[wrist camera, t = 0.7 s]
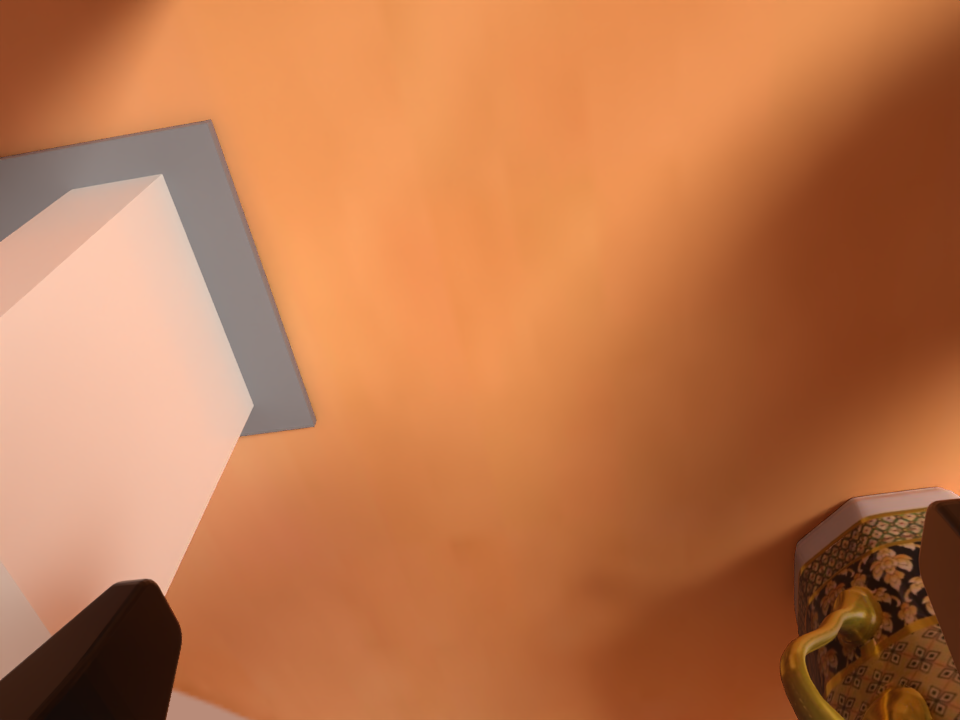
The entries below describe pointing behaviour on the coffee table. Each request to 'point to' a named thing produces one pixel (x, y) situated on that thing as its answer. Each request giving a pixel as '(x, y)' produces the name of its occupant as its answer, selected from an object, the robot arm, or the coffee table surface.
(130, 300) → the tile
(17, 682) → the robot arm
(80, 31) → the coffee table surface
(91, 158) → the mat
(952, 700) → the ceramic cup
